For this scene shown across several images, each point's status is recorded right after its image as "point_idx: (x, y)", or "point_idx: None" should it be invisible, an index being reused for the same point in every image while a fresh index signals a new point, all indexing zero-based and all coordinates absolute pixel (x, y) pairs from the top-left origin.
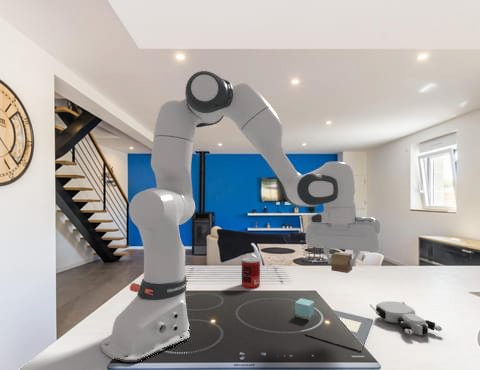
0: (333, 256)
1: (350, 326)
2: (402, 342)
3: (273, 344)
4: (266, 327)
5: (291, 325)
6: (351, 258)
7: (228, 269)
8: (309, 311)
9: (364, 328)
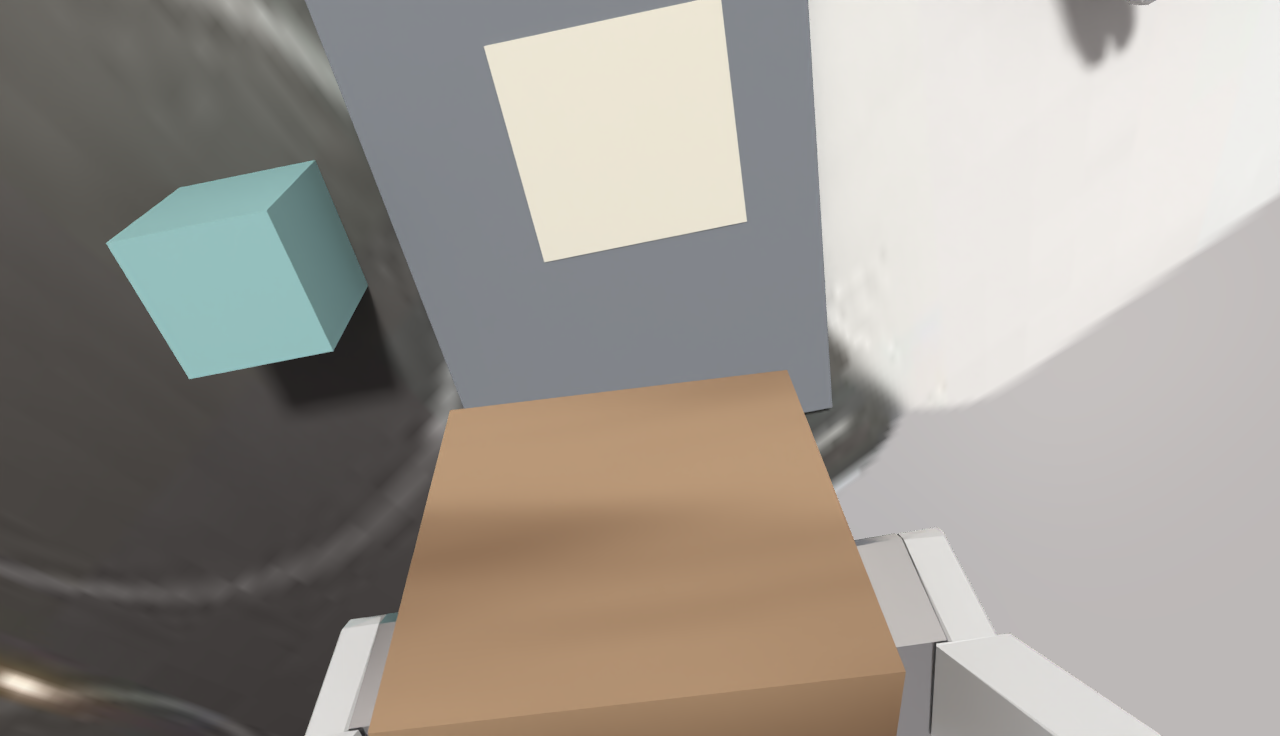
0: None
1: (672, 159)
2: (1059, 80)
3: None
4: (269, 548)
5: (341, 431)
6: (859, 587)
7: None
8: (346, 322)
9: (774, 97)
